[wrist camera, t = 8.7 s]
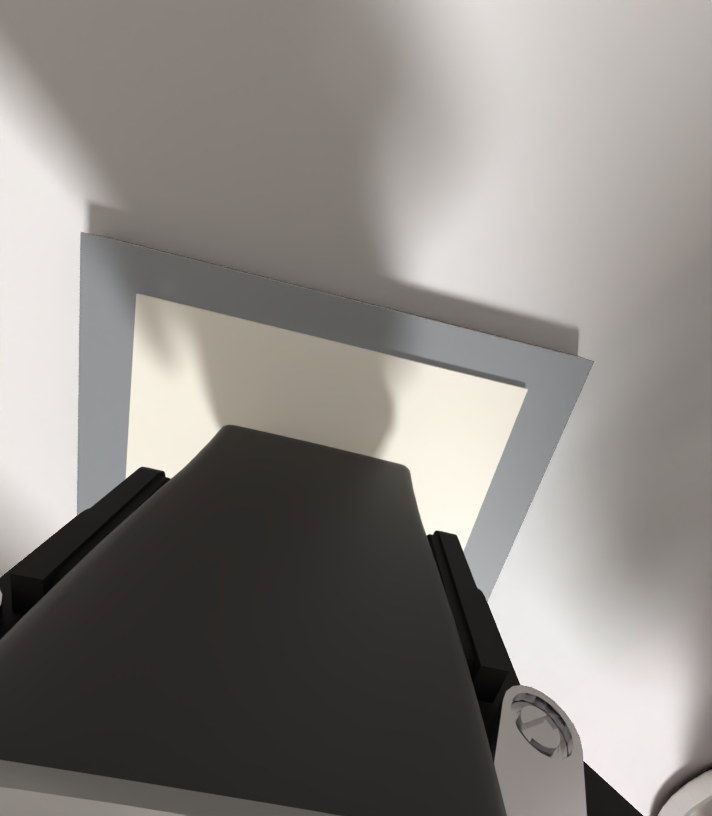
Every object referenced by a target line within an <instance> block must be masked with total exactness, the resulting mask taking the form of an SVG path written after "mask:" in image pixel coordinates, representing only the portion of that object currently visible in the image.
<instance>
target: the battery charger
mask: <svg viewBox="0 0 712 816" xmlns="http://www.w3.org/2000/svg"><path fill="white" fill-rule="evenodd" d="M0 760H4V761H11V762H17V763H23V764H30V765H36V766H42V767H48V768H55V769H61V770H67V771H74V772H80V773H86V774H92V775H99V776H105V777H111V778H117V779H124V780H130V781H136V782H142V783H148V784H154V785H160V786H166V787H173V788H179V789H185V790H191V791H197V792H203V793H209V794H215V795H221V796H227V797H233V798H239V799H245V800H251V801H257V802H263V803H269V804H275V805H281V806H287V807H293V808H299V809H305V810H311V811H316V812H322V813H328V814H334V815H340V816H507V813H506V809H505V805H504V801H503V797H502V793H501V789H500V785H499V781H498V777H497V773H496V770H495V766H494V762H493V758H492V754H491V750H490V746H489V742H488V739H487V735H486V731H485V727H484V723H483V719H482V716H481V712H480V708H479V704H478V701H477V697H476V693H475V690H474V686H473V682H472V678H471V675H470V671H469V668H468V664H467V661H466V657H465V654H464V651H463V647H462V644H461V640H460V637H459V634H458V630H457V627H456V623H455V620H454V617H453V614H452V611H451V607H450V604H449V601H448V598H447V595H446V592H445V589H444V586H443V583H442V580H441V577H440V574H439V570H438V567H437V564H436V561H435V559H434V556H433V552H432V549H431V547H430V544H429V541H428V538H427V535H426V533H425V530H424V527H423V524H422V521H421V517H420V514H419V510H418V506H417V502H416V498H415V494H414V490H413V485H412V480H411V474H410V470H409V469H408V468H407V467H406V466H405V465H402V464H398V463H394V462H390V461H386V460H382V459H378V458H374V457H370V456H366V455H362V454H358V453H354V452H350V451H346V450H341V449H337V448H333V447H329V446H325V445H321V444H316V443H312V442H308V441H303V440H299V439H294V438H290V437H286V436H281V435H277V434H273V433H268V432H264V431H259V430H255V429H250V428H245V427H241V426H236V425H225V426H223V427H222V428H221V429H220V430H219V431H218V432H217V434H216V435H215V436H214V437H213V438H212V439H211V440H210V442H209V443H208V444H207V445H206V446H205V447H204V448H203V449H202V450H201V451H200V452H199V453H198V454H197V455H196V456H195V457H194V458H193V459H192V460H191V461H190V462H189V463H188V464H187V465H186V466H185V467H184V468H183V469H182V470H181V471H179V472H178V473H177V474H176V475H175V476H174V477H172V478H171V479H170V480H169V481H168V482H167V483H165V484H164V485H163V486H162V487H161V488H160V489H158V490H157V491H156V492H155V493H154V494H153V495H152V496H151V497H150V498H148V499H147V500H146V501H145V502H144V503H143V504H142V505H141V506H139V507H138V508H137V509H136V510H135V511H134V512H133V513H132V514H131V515H129V516H128V517H127V518H126V519H125V520H124V521H123V522H122V523H121V524H120V525H118V526H117V527H116V528H115V529H114V530H113V531H112V532H111V533H110V534H109V535H107V536H106V537H105V538H104V539H103V540H102V541H101V542H100V543H99V544H98V545H96V546H95V547H94V548H93V549H92V550H91V551H90V552H89V553H88V554H87V555H86V556H85V557H84V558H83V559H82V560H81V561H80V562H79V563H78V564H77V565H76V566H74V567H73V568H72V569H71V570H70V571H69V572H68V573H67V574H66V575H65V576H64V577H63V578H62V579H61V580H60V581H59V582H58V583H57V584H56V585H55V586H54V587H53V588H52V589H51V590H50V591H49V592H48V593H46V594H45V595H44V596H43V597H42V598H41V599H40V600H39V601H38V602H37V603H36V604H35V605H34V606H33V607H32V608H31V609H30V610H29V611H28V612H27V613H26V614H25V615H24V616H23V617H22V618H21V619H20V620H19V621H18V622H17V623H16V624H15V625H14V626H13V627H12V628H11V629H10V630H9V631H8V632H7V633H6V634H5V635H4V637H3V638H2V639H1V640H0Z"/></svg>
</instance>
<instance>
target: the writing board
mask: <svg viewBox="0 0 712 816" xmlns="http://www.w3.org/2000/svg"><path fill="white" fill-rule="evenodd" d="M593 363H594V361H591V360H588V359H585V358H582V357H579V356H575V355H571V354H567V353H563V352H559V351H555V350H551V349H547V348H543V347H539V346H535V345H531V344H527V343H523V342H519V341H516V340H512V339H508V338H504V337H500V336H496V335H492V334H488V333H484V332H480V331H476V330H472V329H468V328H464V327H460V326H456V325H452V324H448V323H444V322H440V321H436V320H432V319H428V318H424V317H420V316H416V315H412V314H408V313H405V312H401V311H397V310H393V309H389V308H385V307H381V306H377V305H373V304H369V303H365V302H361V301H357V300H353V299H349V298H345V297H341V296H337V295H333V294H329V293H325V292H321V291H317V290H313V289H309V288H305V287H301V286H297V285H294V284H290V283H286V282H282V281H278V280H274V279H270V278H266V277H262V276H258V275H254V274H250V273H246V272H242V271H238V270H234V269H230V268H226V267H222V266H218V265H214V264H210V263H206V262H202V261H198V260H194V259H190V258H187V257H183V256H179V255H175V254H171V253H167V252H163V251H159V250H155V249H151V248H147V247H143V246H139V245H135V244H131V243H127V242H123V241H119V240H115V239H111V238H107V237H103V236H99V235H94V234H88V233H83V232H81V247H80V324H79V402H78V480H77V515H79V514H80V513H81V512H83V511H84V510H86V509H89V508H91V507H92V506H93V505H94V504H96V503H97V502H98V501H99V500H101V499H102V498H103V497H104V496H105V495H107V494H108V493H109V492H110V491H112V490H113V489H114V488H115V487H116V486H118V485H119V484H120V483H121V482H123V481H124V480H125V479H126V478H127V477H129V476H130V475H131V474H132V473H134V472H135V471H136V470H137V469H138V468H140V467H148V468H152V469H157V470H161V471H164V472H165V477H168V478H170V479H171V478H172V477H174V476H175V475H176V474H177V473H178V472H179V471H181V470H182V469H183V468H184V467H185V466H186V465H187V464H188V463H189V462H190V461H191V460H192V459H193V458H194V457H195V456H196V455H197V454H198V453H199V452H200V451H201V450H202V449H203V448H204V447H205V446H206V445H207V444H208V443H209V442H210V440H211V439H212V438H213V437H214V436H215V435H216V434H217V432H218V431H219V430H220V429H221V428H222V427H223V426H225V425H236V426H241V427H245V428H250V429H255V430H259V431H264V432H268V433H273V434H277V435H281V436H286V437H290V438H294V439H299V440H303V441H308V442H312V443H316V444H321V445H325V446H329V447H333V448H337V449H341V450H346V451H350V452H354V453H358V454H362V455H366V456H370V457H374V458H378V459H382V460H386V461H390V462H394V463H398V464H402V465H405V466H406V467H407V468H408V469H409V470H410V474H411V480H412V485H413V490H414V494H415V498H416V502H417V506H418V510H419V514H420V517H421V521H422V524H423V527H424V530H425V533H426V535H428V534H432V535H433V533H434V532H435V531H436V530H438V531H443V532H447V533H452V534H455V535H457V537H458V539H459V542H460V544H461V547H462V550H463V552H464V555H465V557H466V560H467V563H468V565H469V568H470V570H471V573H472V576H473V578H474V581H475V583H476V586H477V588H478V589H480V590H481V591H482V592H483V594H484V596H485V598H486V600H487V601H488V599H489V597H490V595H491V592H492V590H493V588H494V586H495V583H496V581H497V579H498V577H499V574H500V572H501V570H502V568H503V565H504V563H505V561H506V559H507V556H508V554H509V552H510V550H511V547H512V545H513V543H514V541H515V538H516V536H517V534H518V532H519V529H520V527H521V525H522V523H523V520H524V518H525V516H526V514H527V511H528V509H529V507H530V505H531V502H532V500H533V498H534V496H535V493H536V491H537V489H538V487H539V484H540V482H541V480H542V478H543V475H544V473H545V471H546V469H547V466H548V464H549V462H550V460H551V457H552V455H553V453H554V451H555V448H556V446H557V444H558V442H559V439H560V437H561V435H562V433H563V430H564V428H565V426H566V424H567V421H568V419H569V417H570V415H571V412H572V410H573V408H574V406H575V403H576V401H577V399H578V397H579V394H580V392H581V390H582V388H583V385H584V383H585V381H586V379H587V376H588V374H589V372H590V370H591V367H592V365H593Z"/></svg>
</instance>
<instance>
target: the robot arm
mask: <svg viewBox="0 0 712 816" xmlns="http://www.w3.org/2000/svg"><path fill="white" fill-rule="evenodd" d="M169 480H170V478H168V477H165V472H164V471H161V470H157V469H152V468H148V467H140V468H138V469H137V470H136V471H135V472H134V473H132V474H131V475H130V476H129V477H127V478H126V479H125V480H124V481H123V482H121V483H120V484H119V485H118V486H116V487H115V488H114V489H113V490H112V491H110V492H109V493H108V494H107V495H105V496H104V497H103V498H102V499H101V500H99V501H98V502H97V503H96V504H94V505H93V506H92V507H91V508H89V509H86V510H84V511H83V512H81V513H80V514H79V515H77V516H76V517H75V518H74V519H72V520H71V521H70V522H69V523H67V524H66V525H65V526H64V527H62V528H61V529H60V530H59V531H57V532H56V533H55V534H54V535H53V536H51V537H50V538H49V539H48V540H46V541H45V542H44V543H43V544H41V545H40V546H39V547H38V548H36V549H35V550H34V551H33V552H32V553H30V554H29V555H28V556H27V557H25V558H24V559H23V560H22V561H20V562H19V563H18V564H17V565H15V566H14V567H13V568H12V569H10V570H9V571H8V572H7V573H6V574H4V575H3V576H2V577H1V578H0V640H1V639H2V638H3V637H4V635H5V634H6V633H7V632H8V631H9V630H10V629H11V628H12V627H13V626H14V625H15V624H16V623H17V622H18V621H19V620H20V619H21V618H22V617H23V616H24V615H25V614H26V613H27V612H28V611H29V610H30V609H31V608H32V607H33V606H34V605H35V604H36V603H37V602H38V601H39V600H40V599H41V598H42V597H43V596H44V595H45V594H46V593H48V592H49V591H50V590H51V589H52V588H53V587H54V586H55V585H56V584H57V583H58V582H59V581H60V580H61V579H62V578H63V577H64V576H65V575H66V574H67V573H68V572H69V571H70V570H71V569H72V568H73V567H74V566H76V565H77V564H78V563H79V562H80V561H81V560H82V559H83V558H84V557H85V556H86V555H87V554H88V553H89V552H90V551H91V550H92V549H93V548H94V547H95V546H96V545H98V544H99V543H100V542H101V541H102V540H103V539H104V538H105V537H106V536H107V535H109V534H110V533H111V532H112V531H113V530H114V529H115V528H116V527H117V526H118V525H120V524H121V523H122V522H123V521H124V520H125V519H126V518H127V517H128V516H129V515H131V514H132V513H133V512H134V511H135V510H136V509H137V508H138V507H139V506H141V505H142V504H143V503H144V502H145V501H146V500H147V499H148V498H150V497H151V496H152V495H153V494H154V493H155V492H156V491H157V490H158V489H160V488H161V487H162V486H163V485H164V484H165V483H167V482H168V481H169ZM427 538H428V541H429V544H430V547H431V549H432V552H433V556H434V559H435V561H436V564H437V567H438V570H439V574H440V577H441V580H442V583H443V586H444V589H445V592H446V595H447V598H448V601H449V604H450V607H451V611H452V614H453V617H454V620H455V623H456V627H457V630H458V634H459V637H460V640H461V644H462V647H463V651H464V654H465V657H466V661H467V664H468V668H469V671H470V675H471V678H472V682H473V686H474V690H475V693H476V697H477V701H478V704H479V708H480V712H481V716H482V719H483V723H484V727H485V731H486V735H487V739H488V742H489V746H490V750H491V754H492V758H493V762H494V766H495V770H496V773H497V777H498V781H499V785H500V789H501V793H502V797H503V801H504V805H505V809H506V813H507V816H643V815H642V814H641V813H640V812H639V811H637V810H636V809H635V808H634V807H633V806H632V805H631V804H630V803H629V802H628V801H627V800H625V799H624V798H623V797H622V796H621V795H620V794H619V793H618V792H617V791H616V790H615V789H613V788H612V787H611V786H610V785H609V784H608V783H607V782H606V781H605V780H604V779H603V778H601V777H600V776H599V775H598V774H597V773H596V772H595V771H594V770H593V769H592V768H591V767H589V766H588V765H587V764H586V763H585V762H584V761H583V750H582V745H581V741H580V737H579V735H578V733H577V731H576V729H575V726H574V724H573V723H572V722H571V720H570V719H569V717H568V716H567V715H566V713H565V712H564V711H563V710H562V709H561V708H560V707H559V706H558V705H557V704H556V703H555V702H554V701H553V700H552V699H551V698H549V697H548V696H547V695H545V694H544V693H542V692H540V691H538V690H536V689H534V688H532V687H528V686H523V685H520V683H519V681H518V678H517V676H516V673H515V671H514V668H513V666H512V663H511V661H510V658H509V656H508V653H507V651H506V648H505V646H504V643H503V641H502V638H501V636H500V633H499V631H498V628H497V626H496V623H495V621H494V618H493V616H492V613H491V611H490V608H489V605H488V603H487V600H486V598H485V596H484V594H483V592H482V591H481V590H480V589H478V588H477V586H476V583H475V581H474V578H473V576H472V573H471V570H470V568H469V565H468V563H467V560H466V557H465V555H464V552H463V550H462V547H461V544H460V542H459V539H458V537H457V535H455V534H452V533H447V532H443V531H438V530H436V531H435V532H434V533H433V535H432V534H428V535H427ZM0 816H340V815H334V814H328V813H322V812H316V811H311V810H305V809H299V808H293V807H287V806H281V805H275V804H269V803H263V802H257V801H251V800H245V799H239V798H233V797H227V796H221V795H215V794H209V793H203V792H197V791H191V790H185V789H179V788H173V787H166V786H160V785H154V784H148V783H142V782H136V781H130V780H124V779H117V778H111V777H105V776H99V775H92V774H86V773H80V772H74V771H67V770H61V769H55V768H48V767H42V766H36V765H30V764H23V763H17V762H11V761H4V760H0ZM657 816H712V769H711V770H709V771H706V772H704V773H703V774H701V775H699V776H698V777H696V778H694V779H692V780H691V781H689V782H688V783H686V784H685V785H684V786H683V787H681V788H680V789H679V790H678V791H676V792H675V793H674V794H673V795H672V796H671V797H670V798H669V799H668V801H667V802H666V803H665V804H664V805H663V807H662V808H661V810H660V812H659V814H658V815H657Z"/></svg>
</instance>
